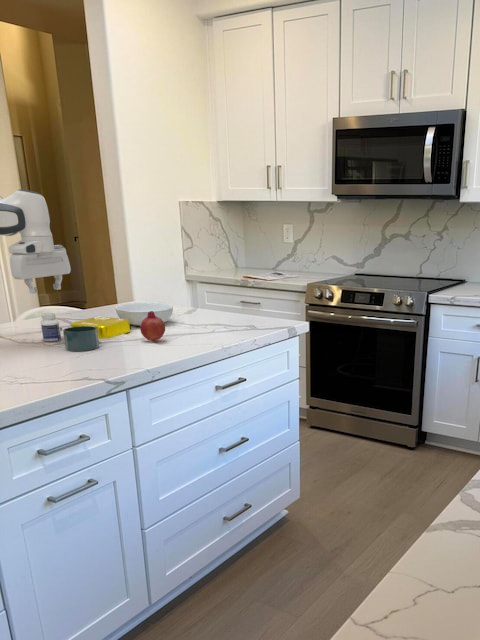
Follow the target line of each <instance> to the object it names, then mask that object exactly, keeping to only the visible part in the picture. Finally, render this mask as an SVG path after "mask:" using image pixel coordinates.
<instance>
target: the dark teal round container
mask: <svg viewBox="0 0 480 640" xmlns="http://www.w3.org/2000/svg"><path fill="white" fill-rule="evenodd" d="M62 332H63V339H64V345H65V346H64V347H65V350H66V351H68V352H88V351H94V350H97V349H99V348H100V341H99V340H100V339H99V338H98V331H97V328H96V327H91V326H79V327H71V326H70V327H66V328H64V329H62Z"/></svg>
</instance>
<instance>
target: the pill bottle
mask: <svg viewBox="0 0 480 640" xmlns="http://www.w3.org/2000/svg"><path fill="white" fill-rule="evenodd" d="M56 317H57V316H56V313H55V312H44V313H41V318H42V320H41V321H40V328H41V333H42V340H43V344H44V345H46V346H55V345H60V344H61V343H62V336H61V328H60V321H58V319H56Z"/></svg>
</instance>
